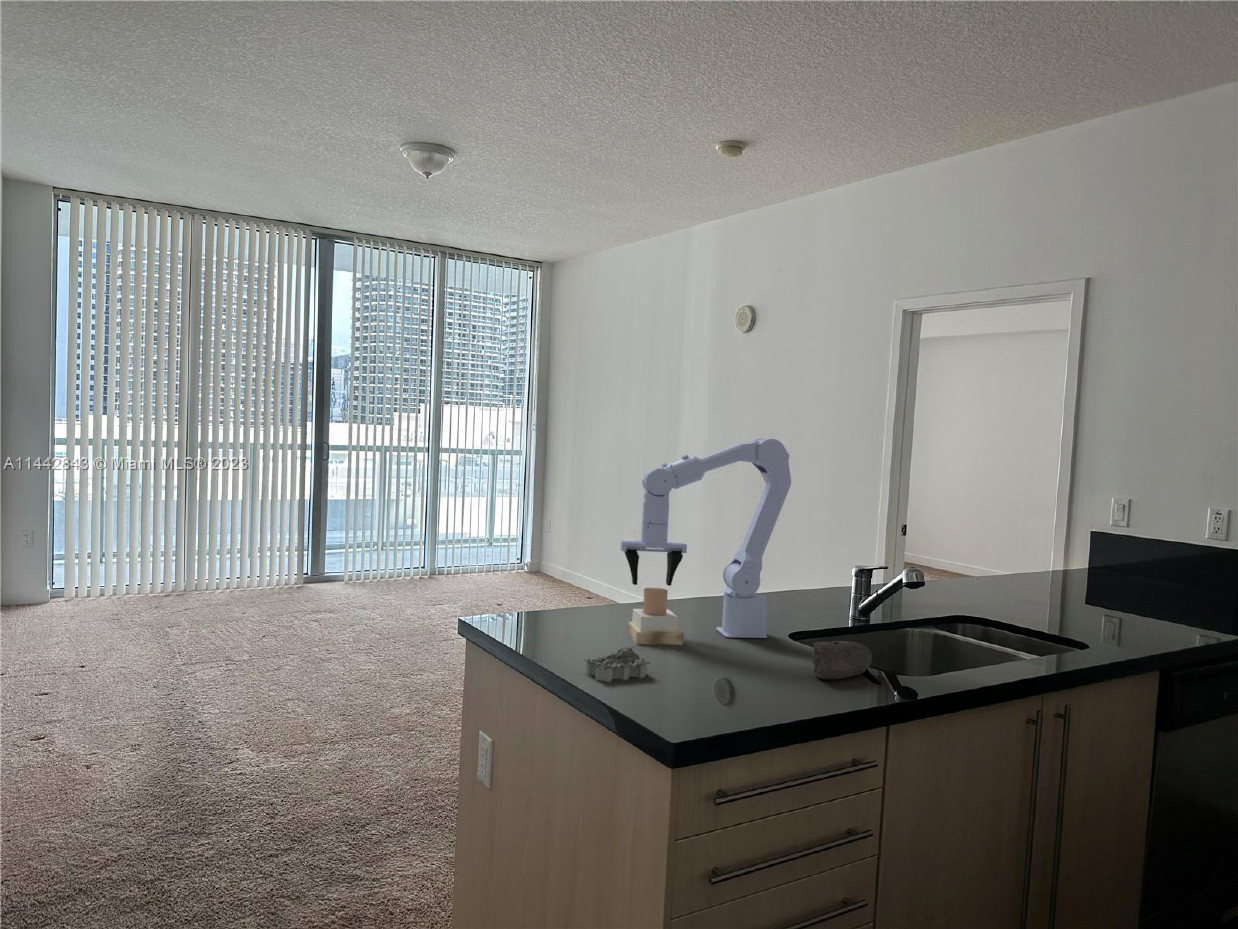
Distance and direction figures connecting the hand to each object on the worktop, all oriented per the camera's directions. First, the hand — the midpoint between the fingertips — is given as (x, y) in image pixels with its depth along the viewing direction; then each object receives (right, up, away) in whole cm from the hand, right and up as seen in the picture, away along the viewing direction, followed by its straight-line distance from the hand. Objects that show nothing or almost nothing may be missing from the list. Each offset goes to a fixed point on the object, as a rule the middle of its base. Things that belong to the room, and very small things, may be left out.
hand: (651, 584), depth 181 cm
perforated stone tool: (+34, -14, -28) cm, 46 cm away
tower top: (0, -8, -6) cm, 10 cm away
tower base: (0, -11, -6) cm, 13 cm away
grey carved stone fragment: (-8, -12, -34) cm, 37 cm away
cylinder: (0, -5, -6) cm, 8 cm away
